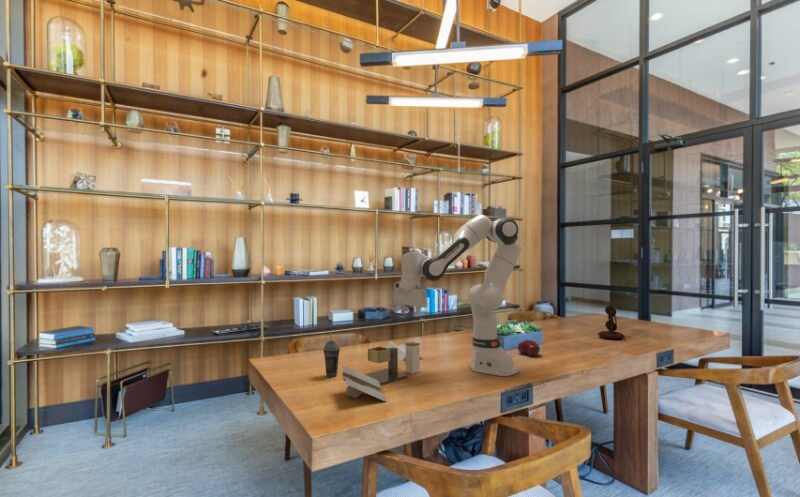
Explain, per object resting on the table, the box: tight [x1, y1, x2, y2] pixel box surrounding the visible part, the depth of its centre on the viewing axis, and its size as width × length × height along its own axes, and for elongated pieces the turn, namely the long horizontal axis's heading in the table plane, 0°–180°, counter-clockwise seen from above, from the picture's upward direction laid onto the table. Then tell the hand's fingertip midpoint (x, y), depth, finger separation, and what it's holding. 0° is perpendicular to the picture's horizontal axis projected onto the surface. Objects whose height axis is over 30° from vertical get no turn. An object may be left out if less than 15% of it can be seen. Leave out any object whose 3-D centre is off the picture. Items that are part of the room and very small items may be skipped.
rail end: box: [405, 341, 421, 374], centre depth 184 cm, size 5×5×13 cm
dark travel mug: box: [322, 330, 340, 379], centre depth 177 cm, size 7×7×20 cm
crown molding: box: [385, 341, 424, 362], centre depth 219 cm, size 31×12×4 cm, turn 17°
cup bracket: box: [364, 346, 409, 387], centre depth 175 cm, size 14×16×13 cm
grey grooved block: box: [341, 364, 388, 403], centre depth 152 cm, size 19×10×17 cm
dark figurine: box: [597, 305, 625, 341], centre depth 254 cm, size 15×15×20 cm
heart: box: [517, 339, 541, 357], centre depth 213 cm, size 12×8×10 cm
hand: (409, 315), depth 186 cm, fingers open, 8 cm apart
